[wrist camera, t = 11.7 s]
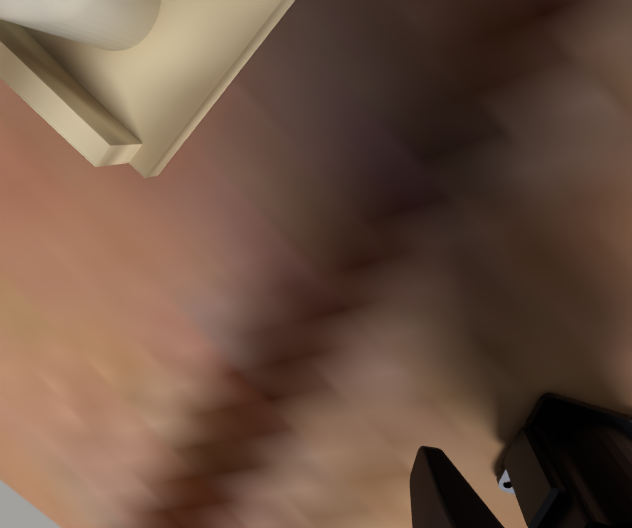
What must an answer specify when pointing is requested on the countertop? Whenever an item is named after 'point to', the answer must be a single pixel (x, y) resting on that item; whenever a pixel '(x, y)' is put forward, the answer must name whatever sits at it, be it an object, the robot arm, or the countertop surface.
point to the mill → (87, 20)
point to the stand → (137, 78)
